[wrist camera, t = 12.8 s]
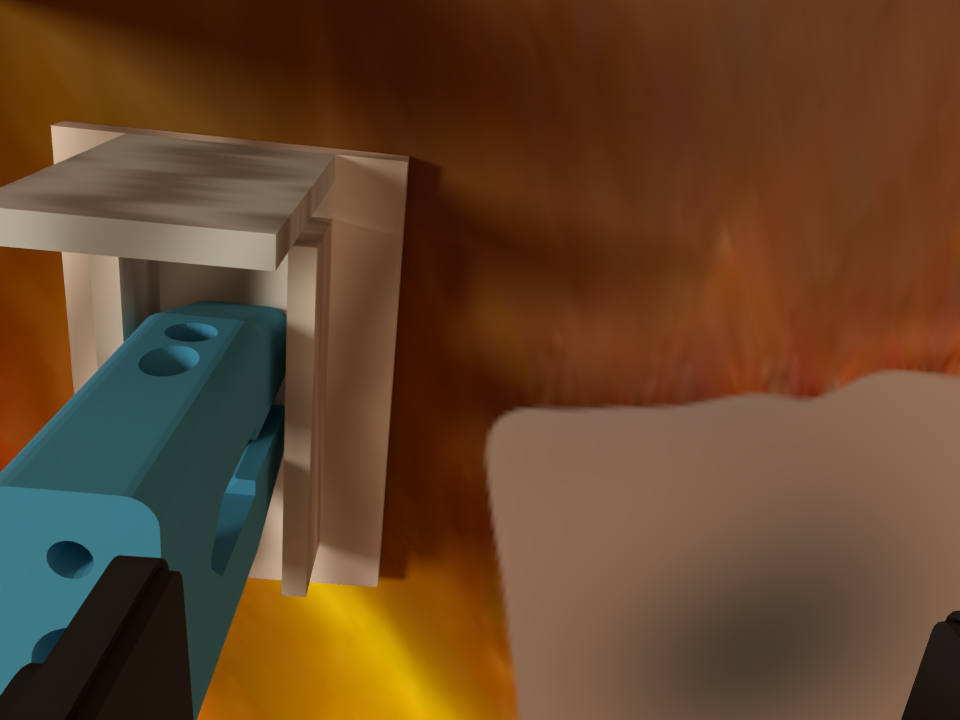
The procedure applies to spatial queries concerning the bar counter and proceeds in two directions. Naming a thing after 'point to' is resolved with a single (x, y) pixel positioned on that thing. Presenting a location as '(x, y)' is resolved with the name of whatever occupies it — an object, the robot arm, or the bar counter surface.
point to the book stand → (246, 298)
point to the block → (149, 479)
